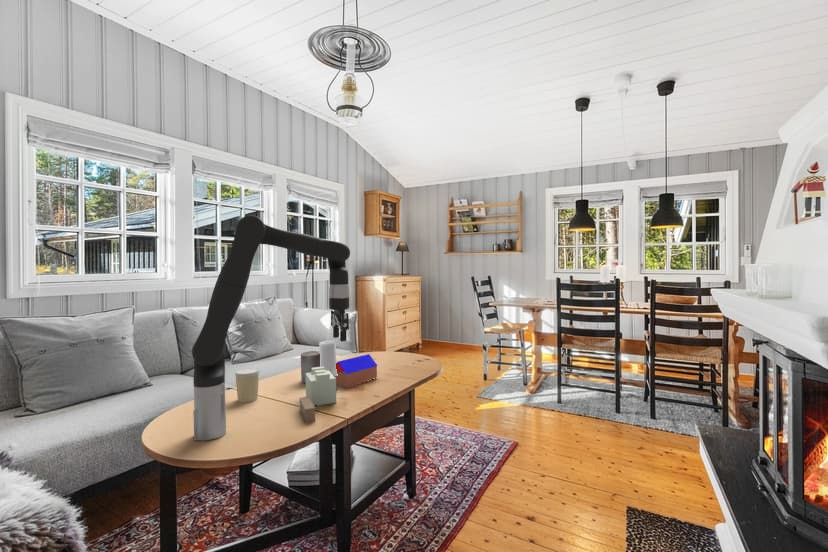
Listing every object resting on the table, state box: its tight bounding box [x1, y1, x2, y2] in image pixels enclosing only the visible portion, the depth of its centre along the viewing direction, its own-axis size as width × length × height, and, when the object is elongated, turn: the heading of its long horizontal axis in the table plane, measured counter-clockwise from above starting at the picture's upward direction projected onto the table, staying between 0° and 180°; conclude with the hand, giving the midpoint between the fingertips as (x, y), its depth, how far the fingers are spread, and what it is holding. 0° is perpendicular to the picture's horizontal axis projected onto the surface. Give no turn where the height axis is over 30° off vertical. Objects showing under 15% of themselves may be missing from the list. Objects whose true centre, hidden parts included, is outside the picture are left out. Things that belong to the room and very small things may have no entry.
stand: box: [305, 366, 337, 407], centre depth 165 cm, size 10×14×12 cm
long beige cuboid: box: [299, 396, 316, 423], centre depth 147 cm, size 4×14×5 cm, turn 24°
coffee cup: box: [234, 368, 260, 403], centre depth 167 cm, size 9×9×12 cm
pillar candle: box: [299, 350, 320, 384], centre depth 193 cm, size 10×10×15 cm
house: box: [335, 353, 378, 389], centre depth 192 cm, size 12×20×12 cm, turn 139°
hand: (339, 339), depth 149 cm, fingers open, 8 cm apart
